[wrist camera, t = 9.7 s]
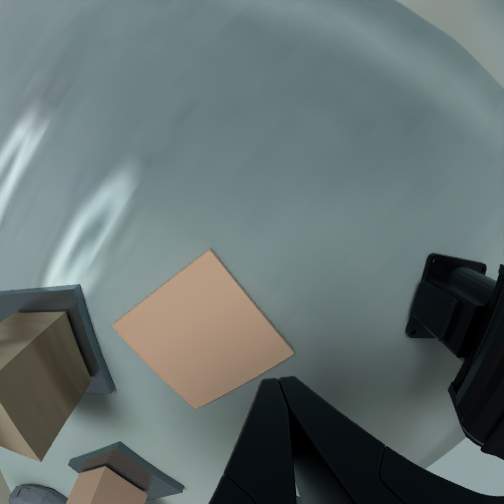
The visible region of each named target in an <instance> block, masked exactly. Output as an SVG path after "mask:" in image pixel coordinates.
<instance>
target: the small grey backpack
mask: <svg viewBox="0 0 504 504" xmlns="http://www.w3.org/2000/svg"><path fill="white" fill-rule="evenodd" d="M67 500H68V498H67V497H65V496H64V495H62V494H60V493H58V492H56V491H54V490H52V489H49V488H46V487H43V486H39V485H31V484H30V485H22V486H16V488H15V489H14V490H13V492H12V493H11V494H10V498H9V502H10V504H66V503H67Z"/></svg>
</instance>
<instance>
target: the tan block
mask: <svg viewBox="0 0 504 504" xmlns="http://www.w3.org/2000/svg"><path fill="white" fill-rule="evenodd" d="M146 498H147V493H145V492H143V491H142V490H140V489H138V488H137V487H135V486H134V485H132V484H131V483H129V482H128V481H126V480H125V479H123V478H122V477H120V476H119V475H117V474H116V473H114V472H113V471H112V470H110V469H109V468H107V467H106V466H104V467H101V468H97V469H94V470H90V471H86V472H82V473H80V474H79V476H78V478H77V480H76V482H75V485H74V487H73V489H72V491H71V494H70V496H69V498H68V500H67V503H66V504H145V502H146Z"/></svg>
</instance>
